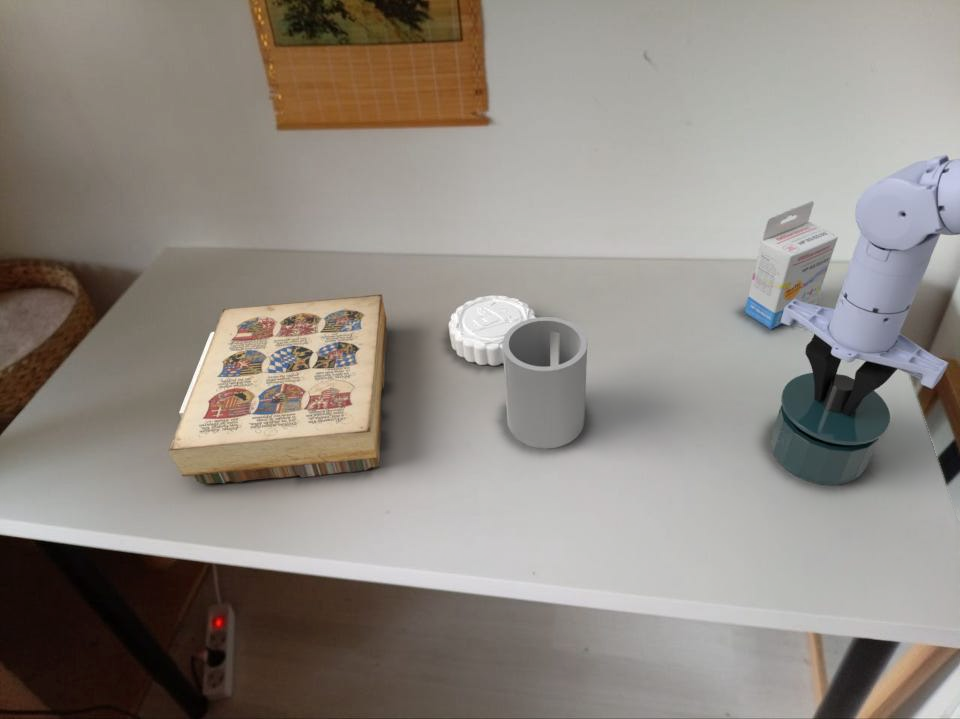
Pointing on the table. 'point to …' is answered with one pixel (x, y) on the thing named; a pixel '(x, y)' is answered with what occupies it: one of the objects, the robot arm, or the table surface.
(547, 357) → the cup
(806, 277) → the ink box
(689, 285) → the table surface
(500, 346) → the mooncake
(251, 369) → the book
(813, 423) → the tin lid
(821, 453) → the tin
